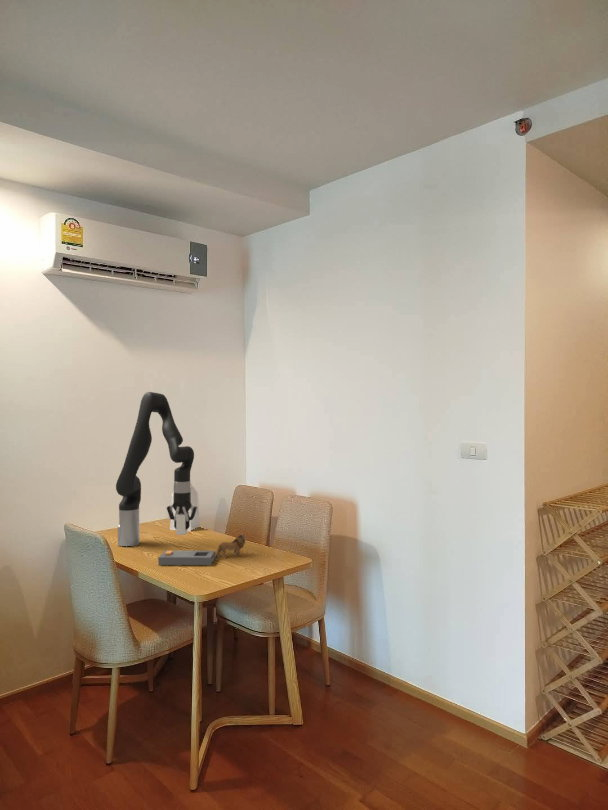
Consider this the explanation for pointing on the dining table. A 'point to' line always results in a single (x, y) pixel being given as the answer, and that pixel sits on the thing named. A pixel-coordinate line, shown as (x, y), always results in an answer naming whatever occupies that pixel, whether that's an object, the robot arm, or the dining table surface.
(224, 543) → the lion figurine
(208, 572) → the dining table surface
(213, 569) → the dining table surface
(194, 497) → the milk
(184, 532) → the white rectangular block
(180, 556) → the grey board with slot
